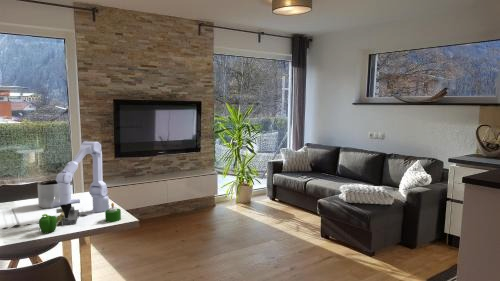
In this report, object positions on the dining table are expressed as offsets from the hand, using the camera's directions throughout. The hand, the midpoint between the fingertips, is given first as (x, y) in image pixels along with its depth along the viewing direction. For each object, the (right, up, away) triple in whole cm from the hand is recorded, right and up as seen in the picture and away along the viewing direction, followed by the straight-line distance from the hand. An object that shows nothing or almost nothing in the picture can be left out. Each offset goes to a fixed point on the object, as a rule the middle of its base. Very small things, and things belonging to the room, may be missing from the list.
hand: (66, 217), depth 205 cm
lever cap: (-3, -1, 0) cm, 4 cm away
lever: (-6, +1, +12) cm, 13 cm away
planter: (-27, 0, +35) cm, 44 cm away
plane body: (-1, -2, +6) cm, 7 cm away
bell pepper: (-3, -5, -13) cm, 15 cm away
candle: (+24, -3, +5) cm, 25 cm away
